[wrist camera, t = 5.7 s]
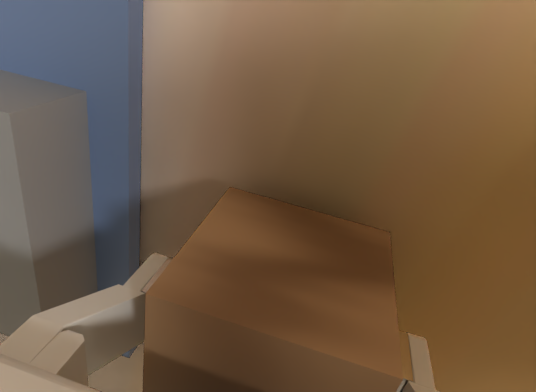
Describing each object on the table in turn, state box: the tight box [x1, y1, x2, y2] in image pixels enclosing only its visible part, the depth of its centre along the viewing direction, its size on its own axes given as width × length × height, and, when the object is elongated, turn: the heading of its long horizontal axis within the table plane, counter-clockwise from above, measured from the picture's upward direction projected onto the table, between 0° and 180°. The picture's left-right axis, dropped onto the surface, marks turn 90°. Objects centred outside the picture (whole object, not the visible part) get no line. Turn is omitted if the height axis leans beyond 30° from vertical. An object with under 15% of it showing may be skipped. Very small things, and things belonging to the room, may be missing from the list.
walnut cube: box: [143, 187, 403, 392], centre depth 10 cm, size 5×5×5 cm
